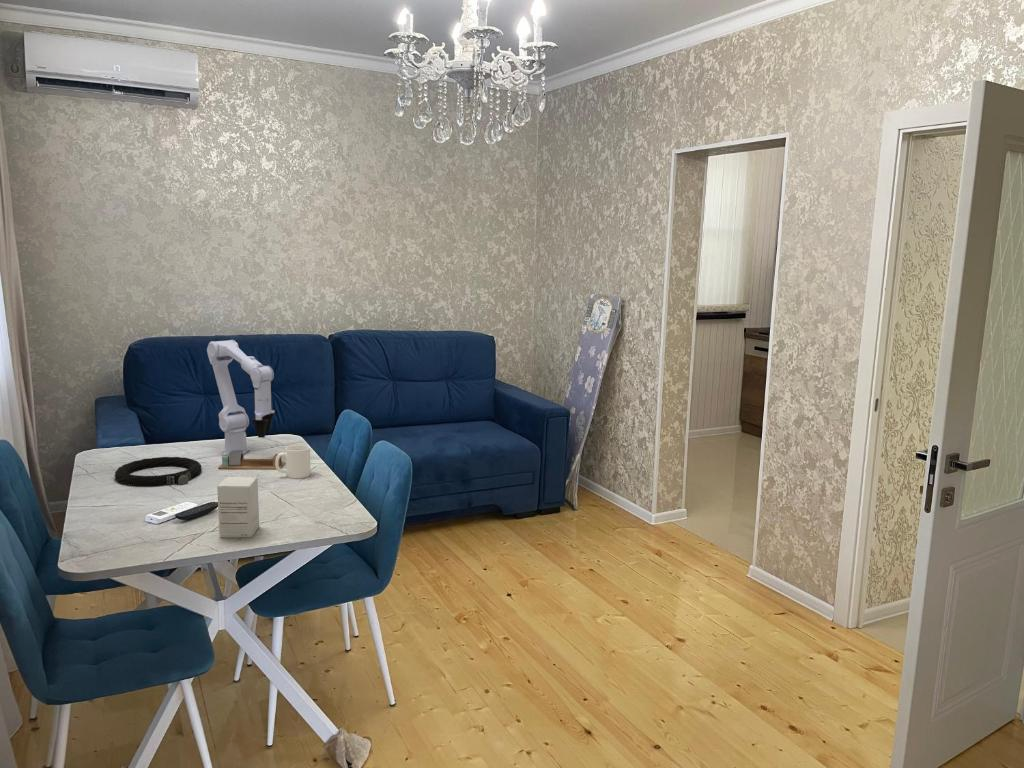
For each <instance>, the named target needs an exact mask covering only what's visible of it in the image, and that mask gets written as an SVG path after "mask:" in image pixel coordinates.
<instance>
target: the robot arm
mask: <svg viewBox="0 0 1024 768" xmlns="http://www.w3.org/2000/svg"><path fill="white" fill-rule="evenodd" d="M206 352H207V353H206V354H207V357H208V359H209V360H208V361H209V363H210V365H212V369H213V372H214V376H215V381H216V385H217V388H218V392H219V395H220V399H221V403H222V406H223V408H222V410H221V411H219V413H218V419H219V421H218V426H219V429H220V430H221V431H222V432H224V448H225V449H224V452H222V454H221V456H224V455H225V454H229V453H230V452H231V451H232V450H243V452H244V455H245V454H246V453H247V452H248V451H249V450H250V448H249V447H247V446H248V445H247V444H248V443H247V433H246V430H247V428H248V427H249V424H250V418H249V416H248V414H247V413H246V409H245V408H244V407H242V406H241V405H239V404H238V401H237V397H236V393H235V390H234V386H233V382H232V380H231V379H232V378H231V375H230V371H229V368H228V366H229V364H230V363H232V361H233V360H235V361H236V362H237V363H239V364H240V367H241V369H242V371H245V373H247V374H248V375H249V376H250V380H251V382H252V386H253V388H254V414H255V418H254V417H253V418H252V420H251V421H252V423H253V425H254V427H255V430H256V434H257V438H260V439H261V438H263V439H264V438H265V436H266V433H267V434H268V433H270V431H271V425H272V421H273V418H274V416H275V410H274V409H272V390H271V387H272V386H271V385H272V381H273V380H274V378H275V377H274V376H275V373H274V370H273V368H272V367H271V366H270V365H263V364H262V363H261V362H260V361H258V360H257V359H256V357H255V356H250V355H249V356H248V355H246V353H244V351H243V350H241V348H239V344H238V342H236V340H234V339H229V340H218V341H213V340H211V341H210V342H209V343H208V345H207V348H206Z"/></svg>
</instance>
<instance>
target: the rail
mask: <svg viewBox="0 0 1024 768" xmlns="http://www.w3.org/2000/svg"><path fill="white" fill-rule="evenodd" d="M278 454H279V453H275V454H274V456H273V457H272V458H244V459H241V466H229V454H225V455H222V457H221V464H220V465H219V467H217V470H275V471H278V470H277V469H276V466H275V461H276V457H277V455H278ZM282 457H283V456H281V457H280V458H279V462H278V465H279V468H280V469H283V467H284V466H286V461H283V460H282Z"/></svg>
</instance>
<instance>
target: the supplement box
mask: <svg viewBox="0 0 1024 768" xmlns="http://www.w3.org/2000/svg"><path fill="white" fill-rule="evenodd" d="M258 479H259V478H258V477H257V476H226V477H225V478H224V480H222V481H221V482H220V483H219V484H218V485H217V487H216V488H217V511H218V512H217V514H218V532H219V533H218V534H219V538H252V537H253V536H254V535H255V533H256V532H257V530H258V529H259V527H260V510H259V509H260V508H259V506H260V505H259V484H258V483H259V481H258Z"/></svg>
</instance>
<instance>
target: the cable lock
mask: <svg viewBox="0 0 1024 768" xmlns="http://www.w3.org/2000/svg"><path fill="white" fill-rule="evenodd" d="M157 467H161V468H163V467H178V468H180V467H182V468H186V469H185V470H181V471H178V472H175V473H174V472H173V473H167V474H166V473H165V474H161V475H134V474H131V473H133V472H136V471H141V470H144V469H149V468H150V469H151V468H152V469H153V468H157ZM202 468H203V467H202V464H201V463H200V462H199V461H197V460H196V459H192V458H189V457H181V456H162V457H161V456H160V457H152V458H142V459H139V460H134V461H130V462H128V463H125V464H122V465H121V466H119V467H118V468H117V470H115V472H114V473H115V474H114V478H115V480H116V481H118V482H119V483H121V484H124V485H128V486H134V487H135V486H136V487H156V486H157V487H158V486H159V487H160V486H164V485H165V486H166V485H167V486H171V485H172V486H174V485H177V486H179V485H180V486H183V485H186V484H188V483H189V481H190V480H191V479H193V478H195V477H198V476H199V474H200V473H202Z"/></svg>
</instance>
